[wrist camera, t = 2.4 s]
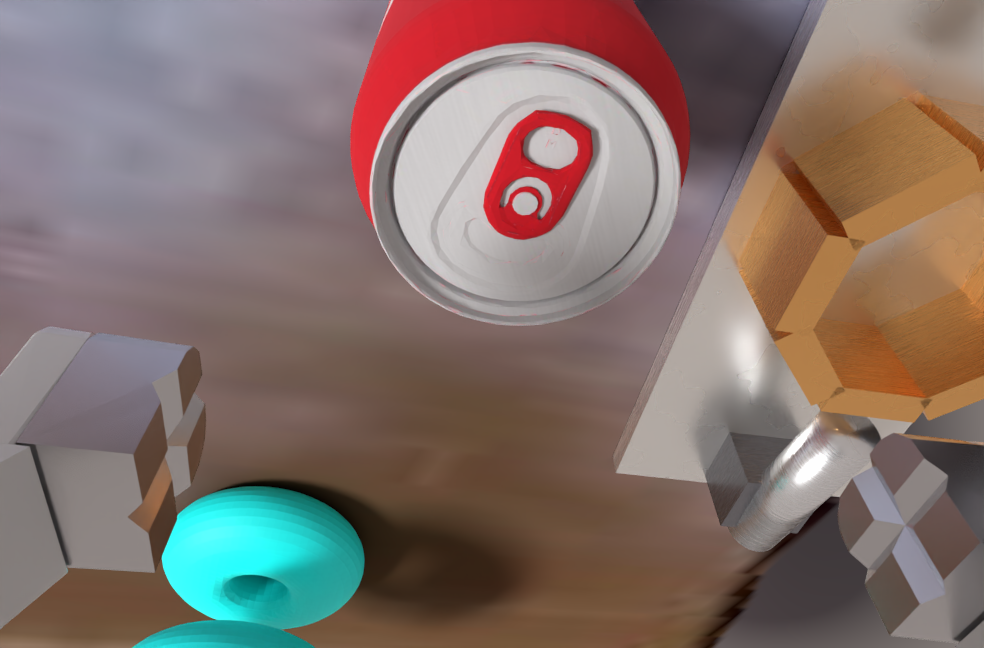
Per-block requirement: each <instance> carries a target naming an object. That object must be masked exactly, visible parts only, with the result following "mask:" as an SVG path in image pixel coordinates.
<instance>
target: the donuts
mask: <svg viewBox="0 0 984 648" xmlns="http://www.w3.org/2000/svg"><path fill="white" fill-rule="evenodd" d="M162 562H163V568H164V571H165V574H166V576H167V578H168V580H169V582H170V584H171V586H172V587H173V588H174V590H175V591H176V592H177V593H178V594H179V595H180V596H181V597H182V599H183V600H184V601H186V602H187V603H188V604H189V605H190V606H192V607H193V608H195V609H196V610H198V611H200V612H202V613H203V614H205V615H207V616H209V617H211V618H214V619H216V620H209V621H198V622H191V623H186V624H181V625H177V626H174V627H170V628H168V629H165V630H162V631H160V632H158V633H155V634H153V635H151V636H149V637H147V638H145V639H144V640H142V641H141V642H139V643H138V644H137V645H135V646H134V647H132V648H315V647H314V646H312V645H311V644H309V643H308V642H306V641H304V640H303V639H301V638H299V637H297V636H295V635H292V634H290V633H288V632H285V631H282V630H280V629H289V628H295V627H300V626H305V625H308V624H312V623H314V622H317V621H319V620H321V619H323V618H326V617H327V616H329V615H331V614H333V613H334V612H336V611H337V610H339V609H340V608H341V607H342V606H343V605H344V604H345V603H347V602H348V601H349V599H350V598H351V597H352V596H353V594H354V593H355V591H356V590H357V588H358V586H359V584H360V582H361V579H362V576H363V572H364V563H365V559H364V551H363V547H362V543H361V541H360V539H359V537H358V535H357V533H356V531H355V530H354V528H353V527H352V526H351V524H350V523H349V522H348V521H347V520H346V519H345V518H344V517H343V516H342V515H341V514H339V513H338V512H337V511H336V510H334V509H333V508H331V507H330V506H328V505H326V504H325V503H323V502H321V501H319V500H317V499H315V498H312V497H310V496H307V495H305V494H302V493H299V492H295V491H291V490H287V489H282V488H276V487H264V486H246V487H237V488H230V489H225V490H221V491H217V492H214V493H212V494H209V495H206V496H204V497H202V498H200V499H198V500H196V501H195V502H193V503H192V504H190V505H189V506H187V507H186V508H185V509H184V510H182V511H181V512H180V513H179V514H178V515H177V521H176V523H175V526H174V528H173V531H172V533H171V535H170V538H169V540H168V543H167V545H166V547H165V550H164V552H163V555H162Z"/></svg>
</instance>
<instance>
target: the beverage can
mask: <svg viewBox="0 0 984 648" xmlns="http://www.w3.org/2000/svg"><path fill="white" fill-rule="evenodd" d="M689 148H690V125H689V113H688V108H687V102H686V97H685V94H684V91H683V87H682V84H681V81H680V79H679V76H678V74H677V71H676V69H675V67H674V65H673V63H672V61H671V60H670V58H669V57H668V55H667V53H666V52H665V50H664V48H663V47H662V45H661V44H660V42H659V40H658V39H657V37H656V36H655V34H654V33H653V31H652V30H651V28H650V27H649V25H648V23H647V22H646V20H645V19H644V17H643V16H642V14H641V13H640V11H639V9H638V8H637V6H636V5H635V3H634V2H633V0H390V1H389V4H388V7H387V10H386V13H385V16H384V19H383V22H382V25H381V28H380V31H379V34H378V37H377V40H376V43H375V46H374V49H373V52H372V55H371V58H370V61H369V64H368V67H367V70H366V73H365V76H364V79H363V82H362V85H361V88H360V91H359V94H358V98H357V101H356V104H355V108H354V113H353V119H352V124H351V161H352V169H353V173H354V178H355V182H356V187H357V190H358V194H359V197H360V199H361V202H362V204H363V206H364V209H365V211H366V214H367V216H368V217H369V219H370V221H371V223H372V224H373V226H374V228H375V229H376V232H377V234H378V237H379V240H380V242H381V245H382V247H383V249H384V251H385V252H386V254H387V256H388V257H389V259H390V261H391V262H392V263H393V265H394V266H395V268H396V269H397V271H398V272H399V273H400V274H401V275H402V276H403V277H404V278H405V279H406V280H407V281H408V283H409V284H410V285H411V286H412V287H413V288H415V289H416V290H417V291H419V292H420V293H421V294H423V295H424V296H425V297H426V298H428V299H429V300H431V301H432V302H434V303H436V304H438V305H439V306H441V307H443V308H445V309H447V310H449V311H451V312H454V313H456V314H458V315H461V316H463V317H467V318H471V319H474V320H478V321H482V322H487V323H492V324H499V325H514V326H526V325H540V324H547V323H552V322H557V321H561V320H566V319H569V318H572V317H575V316H578V315H581V314H584V313H586V312H588V311H590V310H592V309H595V308H597V307H599V306H601V305H603V304H604V303H606V302H608V301H609V300H611V299H612V298H614V297H616V296H617V295H619V294H620V293H621V292H623V291H624V290H625V289H626V288H628V287H629V286H630V285H631V284H633V283H634V282H635V281H636V280H637V279H638V278H639V277H640V276H641V275H642V274H643V273H644V271H645V270H646V269H647V268H648V267H649V266H650V264H651V263H652V262H653V260H654V259H655V258H656V256H657V255H658V254H659V252H660V251H661V249H662V247H663V245H664V243H665V241H666V239H667V237H668V235H669V233H670V231H671V229H672V226H673V223H674V220H675V217H676V213H677V209H678V204H679V199H680V194H681V188H682V185H683V181H684V177H685V173H686V169H687V165H688V158H689Z"/></svg>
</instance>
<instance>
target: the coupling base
mask: <svg viewBox="0 0 984 648" xmlns="http://www.w3.org/2000/svg"><path fill="white" fill-rule="evenodd" d="M982 399H984V0H810V3H809V5H808V7H807V9H806V12H805V14H804V16H803V19H802V21H801V23H800V26H799V28H798V30H797V33H796V35H795V37H794V39H793V42H792V44H791V46H790V49H789V51H788V53H787V56H786V58H785V60H784V62H783V65H782V67H781V69H780V72H779V74H778V76H777V79H776V81H775V83H774V86H773V88H772V90H771V92H770V95H769V97H768V99H767V102H766V104H765V106H764V109H763V111H762V113H761V115H760V118H759V120H758V122H757V125H756V127H755V129H754V132H753V134H752V136H751V139H750V141H749V143H748V145H747V148H746V150H745V152H744V155H743V157H742V159H741V162H740V164H739V166H738V168H737V171H736V173H735V175H734V178H733V180H732V182H731V185H730V187H729V189H728V192H727V194H726V196H725V198H724V201H723V203H722V205H721V208H720V210H719V212H718V215H717V217H716V219H715V221H714V224H713V226H712V228H711V231H710V233H709V235H708V238H707V240H706V242H705V245H704V247H703V249H702V251H701V254H700V256H699V258H698V261H697V263H696V265H695V268H694V270H693V272H692V274H691V277H690V279H689V281H688V284H687V286H686V288H685V291H684V293H683V295H682V298H681V300H680V302H679V304H678V307H677V309H676V311H675V314H674V316H673V318H672V321H671V323H670V325H669V327H668V330H667V332H666V334H665V337H664V339H663V341H662V344H661V346H660V348H659V351H658V353H657V355H656V357H655V360H654V362H653V364H652V367H651V369H650V371H649V374H648V376H647V378H646V380H645V383H644V385H643V387H642V390H641V392H640V394H639V397H638V399H637V401H636V404H635V406H634V408H633V410H632V413H631V415H630V417H629V420H628V422H627V424H626V427H625V429H624V431H623V434H622V436H621V438H620V440H619V443H618V445H617V447H616V450H615V452H614V454H613V461H614V466H615V471H616V473H622V474H631V475H641V476H650V477H659V478H669V479H678V480H687V481H697V482H706V483H707V484H708V487H709V490H710V493H711V496H712V499H713V503H714V506H715V509H716V512H717V515H718V518H719V522H720V525H721V526H728V529H729V531H730V533H731V534H732V536H733V537H734V538H735V540H736V541H737V542H739V543H740V544H741V545H742V546H744V547H746V548H747V549H750V550H753V551H757V552H763V551H767V550H769V549H771V548H772V547H773V546H775V545H776V544H777V543H778V542H779V541H780V540H781V539H783V538H784V537H785V536H786V535H787V534H788V533H798V531H799V530H800V529H801V527H802V526H803V525H804V523H805V522H806V521H807V520H808V518H809V517H810V516H811V514H812V513H813V512H814V510H816V509H817V508H818V507H819V506H820V505H821V504H822V503H823V502H825V501H826V500H827V499H828V498H829V497H830V496H836V497H840V496H841V494H842V493H843V491H844V490H845V488H846V486H847V485H848V483H849V482H850V480H851V479H852V478H853V477H855V476H856V475H858V474H860V473H862V472H864V471H866V470H868V469H870V468H871V467H872V463H871V458H870V453H871V452H872V450H873V449H874V448H875V446H876V445H877V444H878V442H879V441H880V440H881V439H883V438H885V437H886V436H888V435H890V434H892V433H900V434H904V433H905V431H906V430H907V429H908V427H909V426H910V425H911V424H912V423H914V422H915V421H916V419H917V418H918V417H919V416H920V414H921V413H922V412H923V413H924V415H925V416H926V418H927V419H928V420H931V419H934V418H936V417H939V416H941V415H944V414H946V413H949V412H951V411H954V410H957V409H959V408H962V407H964V406H967V405H970V404H972V403H974V402H977V401H980V400H982Z"/></svg>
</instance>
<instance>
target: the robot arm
mask: <svg viewBox="0 0 984 648" xmlns="http://www.w3.org/2000/svg"><path fill="white" fill-rule="evenodd" d="M201 376H202V369H201V361H200V354H199V351H198V350H197V349H196V348H194V347H193V346H186V345H179V344H172V343H165V342H159V341H152V340H145V339H138V338H131V337H124V336H117V335H111V334H104V333H98V334H95V333H90V332H83V331H76V330H70V329H63V328H56V327H46V328H44V329H42V330H40V331H38V332H36V333H35V334H33V336H32V337H31V338H30V339H29V341H28V342H27V343H26V344H25V345H24V347H23V348H22V349H21V350H20V352H19V353H18V354H17V355H16V357H15V358H14V359H13V360H12V362H11V363H10V364H9V365H8V366H7V368H6V369H5V370H4V371H3V373H2V374H1V375H0V629H1V628H2V627H3V626H4V625H6V624H7V623H8V622H9V621H10V620H12V619H13V618H14V617H15V616H16V615H18V614H19V613H20V612H21V611H22V610H24V609H25V608H26V607H27V606H28V605H29V604H31V603H32V602H33V601H34V600H35V599H37V598H38V597H39V596H40V595H41V594H43V593H44V592H45V591H46V590H47V589H49V588H50V587H51V586H52V585H53V584H55V583H56V582H57V581H58V580H59V579H61V578H62V577H63V576H64V575H65V574H67V573H68V570H67V567H69V568H86V569H103V570H120V571H137V572H153V573H155V572H156V569H157V567H158V564H159V562H160V560H161V557H162V555H163V552H164V550H165V547H166V545H167V543H168V540H169V538H170V535H171V533H172V531H173V528H174V526H175V523H176V521H177V513H176V505H175V496H177V495H178V494H180V493H181V492H183V491H184V490H185V489H187V488H188V487H190V486H191V484H192V481H193V479H194V476H195V474H196V471H197V468H198V466H199V462H200V458H201V454H202V449H203V445H204V440H205V428H206V413H205V404H204V403H203V402H202V401H201V400H200V398H199V397H198V396H197V395H196V394H195V393H194V392H195V389H196V387H197V385H198V383H199V381H200V378H201ZM870 458H871V463H872V467H871V468H870V469H868V470H866V471H864V472H862V473H860V474H858V475H856V476H855V477H853V478H852V479H851V480H850V482H849V483H848V485H847V486H846V488H845V490H844V491H843V493H842V494H841V496H840V502H839V510H838V522H839V527H840V532H841V535H842V538H843V539H844V542H845V544H846V546H847V548H848V550H849V552H850V553H851V554H852V555H853V556H854V557H856V558H857V559H858V560H859V561H860V562H861V563H862V564H863V565H864V566H866V567H867V568H868V573H867V577H866V581H865V586H866V588H867V590H868V592H869V594H870V596H871V598H872V600H873V602H874V604H875V606H876V608H877V610H878V612H879V614H880V617H881V619H882V621H883V623H884V625H885V627H886V629H887V631H888V633H889V635H890V636H898V637H907V638H915V639H924V640H933V641H941V642H951V643H958V644H957V645H956V646H955V647H956V648H984V442H975V441H970V442H966V441H960V440H952V439H944V438H935V437H926V436H918V435H909V434H900V433H892V434H890V435H888V436H886V437H885V438H883V439H881V440H880V441H879V442H878V444H877V445H876V446H875V448H874V449H873V450H872V452H871V453H870Z"/></svg>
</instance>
